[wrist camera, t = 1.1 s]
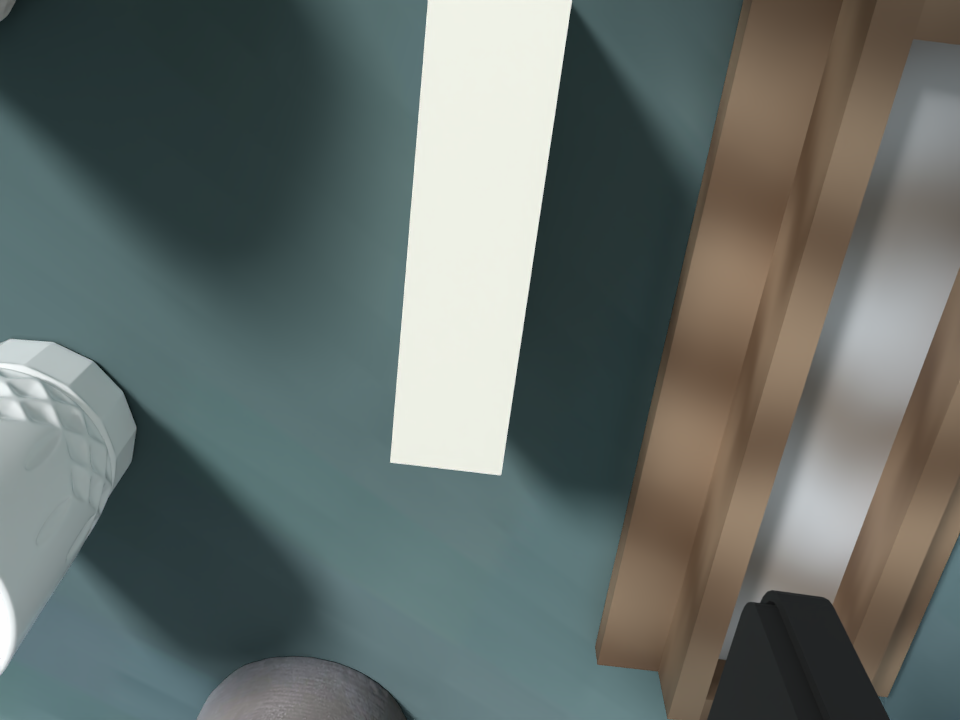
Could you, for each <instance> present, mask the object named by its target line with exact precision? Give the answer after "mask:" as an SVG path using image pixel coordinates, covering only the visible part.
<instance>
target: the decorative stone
mask: <svg viewBox="0 0 960 720" xmlns="http://www.w3.org/2000/svg"><path fill="white" fill-rule="evenodd" d="M15 1H16V0H0V21H2V20H3V19H4V18H5V17H6V16H7V15H8V14H9V13H10V11H11V9H12V7H13V5H14V3H15Z"/></svg>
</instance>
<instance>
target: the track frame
mask: <svg viewBox="0 0 960 720" xmlns="http://www.w3.org/2000/svg"><path fill="white" fill-rule="evenodd" d="M959 533H960V0H743V4H742V9H741V13H740V18H739V22H738V26H737V31H736V35H735V39H734V44H733V48H732V52H731V57H730V61H729V66H728V70H727V74H726V79H725V83H724V87H723V92H722V96H721V100H720V105H719V109H718V113H717V118H716V122H715V127H714V131H713V135H712V140H711V144H710V148H709V153H708V157H707V161H706V166H705V170H704V175H703V179H702V183H701V188H700V192H699V196H698V201H697V205H696V209H695V214H694V218H693V223H692V227H691V231H690V236H689V240H688V244H687V249H686V253H685V257H684V262H683V266H682V270H681V275H680V279H679V284H678V288H677V292H676V297H675V301H674V305H673V310H672V314H671V318H670V323H669V327H668V332H667V336H666V340H665V345H664V349H663V353H662V358H661V362H660V366H659V371H658V375H657V380H656V384H655V388H654V393H653V397H652V401H651V406H650V410H649V414H648V419H647V423H646V427H645V432H644V436H643V441H642V445H641V449H640V454H639V458H638V462H637V467H636V471H635V475H634V480H633V484H632V489H631V493H630V497H629V502H628V506H627V510H626V515H625V519H624V523H623V528H622V532H621V536H620V541H619V545H618V550H617V554H616V558H615V563H614V567H613V571H612V576H611V580H610V584H609V589H608V593H607V598H606V602H605V606H604V611H603V615H602V619H601V624H600V628H599V632H598V637H597V641H596V646H595V649H596V657H597V665H606V666H615V667H624V668H633V669H642V670H651V671H658V673H659V678H660V683H661V688H662V693H663V699H664V704H665V709H666V714H667V719H674V720H707V718H708V715H709V712H710V709H711V706H712V703H713V700H714V697H715V694H716V690H717V687H718V684H719V681H720V678H721V675H722V672H723V669H724V665H725V662H726V659H727V656H728V653H729V650H730V647H731V644H732V641H733V637H734V634H735V631H736V628H737V625H738V622H739V619H740V616H741V613H742V610H743V608H744V606H745V605H746V604H747V603H748V602H756V603H760V602H761V600H762V597H763V596H764V595H765V593H766V592H767V591H771V590H775V591H783V592H790V593H797V594H805V595H812V596H819V597H824V598H826V599H828V600H829V601H830V602H831V604H832V605H833V607H834V608H835V610H836V612H837V614H838V616H839V618H840V620H841V622H842V624H843V626H844V628H845V630H846V633H847V635H848V637H849V639H850V641H851V643H852V645H853V647H854V649H855V651H856V653H857V655H858V657H859V659H860V661H861V663H862V665H863V667H864V669H865V671H866V673H867V675H868V677H869V679H870V681H871V683H872V685H873V687H874V689H875V691H876V693H877V695H878V696H881V697H888V695H889V693H890V690H891V688H892V686H893V683H894V681H895V679H896V677H897V674H898V672H899V670H900V668H901V665H902V663H903V661H904V658H905V656H906V654H907V652H908V649H909V647H910V645H911V643H912V640H913V638H914V636H915V633H916V631H917V629H918V627H919V624H920V622H921V620H922V618H923V615H924V613H925V611H926V608H927V606H928V604H929V602H930V599H931V597H932V595H933V593H934V590H935V588H936V586H937V583H938V581H939V579H940V577H941V574H942V572H943V570H944V567H945V565H946V563H947V561H948V558H949V556H950V554H951V552H952V549H953V547H954V545H955V542H956V540H957V538H958V536H959Z"/></svg>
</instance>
